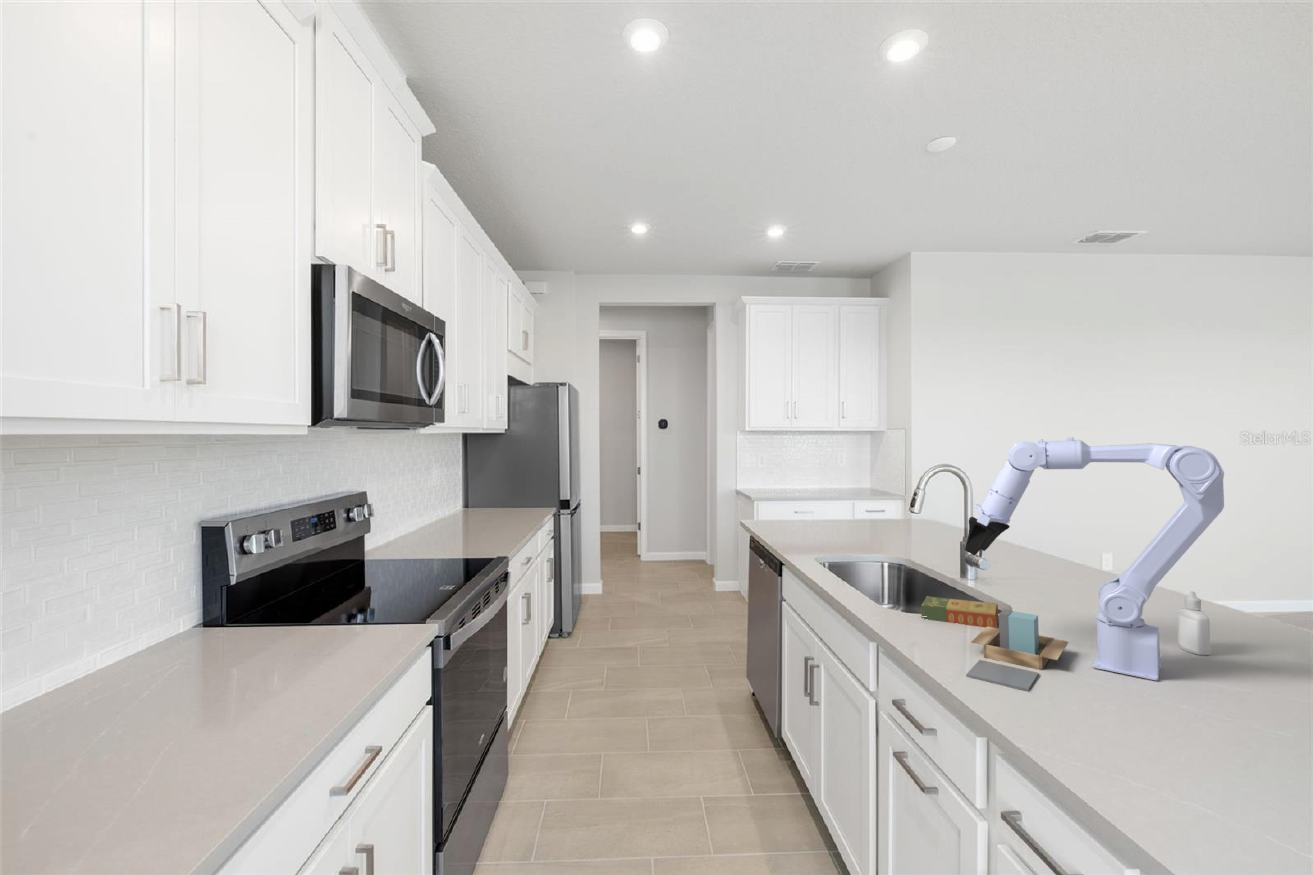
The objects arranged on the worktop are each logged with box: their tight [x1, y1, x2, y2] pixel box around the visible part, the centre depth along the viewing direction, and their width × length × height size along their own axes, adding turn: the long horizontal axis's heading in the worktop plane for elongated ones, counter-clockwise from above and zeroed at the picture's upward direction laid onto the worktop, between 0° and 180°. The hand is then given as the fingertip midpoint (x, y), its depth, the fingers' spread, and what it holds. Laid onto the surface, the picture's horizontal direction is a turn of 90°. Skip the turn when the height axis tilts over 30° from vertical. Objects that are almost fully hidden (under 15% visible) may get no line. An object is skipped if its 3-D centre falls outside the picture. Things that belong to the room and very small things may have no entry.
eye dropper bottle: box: [1177, 591, 1211, 656], centre depth 118 cm, size 4×6×12 cm
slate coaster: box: [965, 659, 1040, 692], centre depth 109 cm, size 10×9×1 cm
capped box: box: [998, 609, 1040, 655], centre depth 119 cm, size 6×4×8 cm
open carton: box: [970, 626, 1069, 671], centre depth 119 cm, size 15×13×2 cm
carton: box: [920, 595, 999, 628], centre depth 142 cm, size 8×16×4 cm, turn 57°
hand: (974, 550), depth 126 cm, fingers open, 7 cm apart
